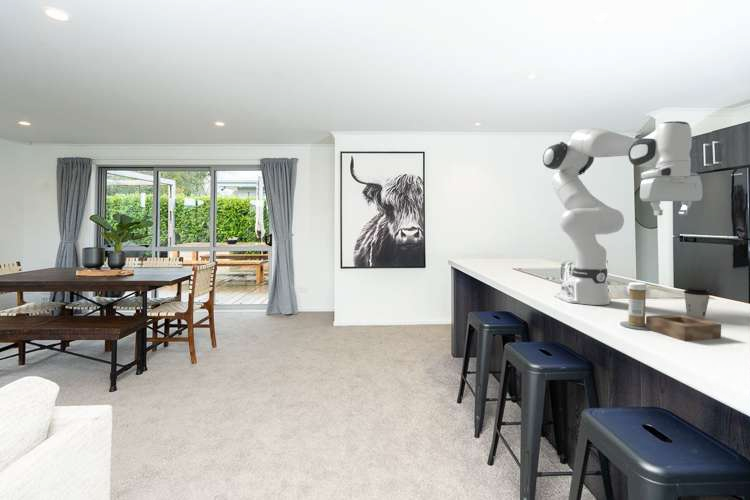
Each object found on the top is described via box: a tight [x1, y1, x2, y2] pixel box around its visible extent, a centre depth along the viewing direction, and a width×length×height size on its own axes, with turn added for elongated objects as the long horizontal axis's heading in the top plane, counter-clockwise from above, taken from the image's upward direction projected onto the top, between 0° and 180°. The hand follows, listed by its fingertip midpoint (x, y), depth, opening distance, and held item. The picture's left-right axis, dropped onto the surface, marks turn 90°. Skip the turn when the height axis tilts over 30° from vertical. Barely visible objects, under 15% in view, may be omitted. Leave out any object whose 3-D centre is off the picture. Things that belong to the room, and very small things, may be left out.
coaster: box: [619, 320, 651, 331], centre depth 115 cm, size 9×9×1 cm
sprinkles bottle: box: [627, 281, 647, 327], centre depth 115 cm, size 5×5×14 cm
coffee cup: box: [683, 287, 711, 320], centre depth 124 cm, size 7×7×10 cm
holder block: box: [645, 313, 722, 342], centre depth 107 cm, size 12×12×4 cm
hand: (670, 215), depth 118 cm, fingers open, 8 cm apart
